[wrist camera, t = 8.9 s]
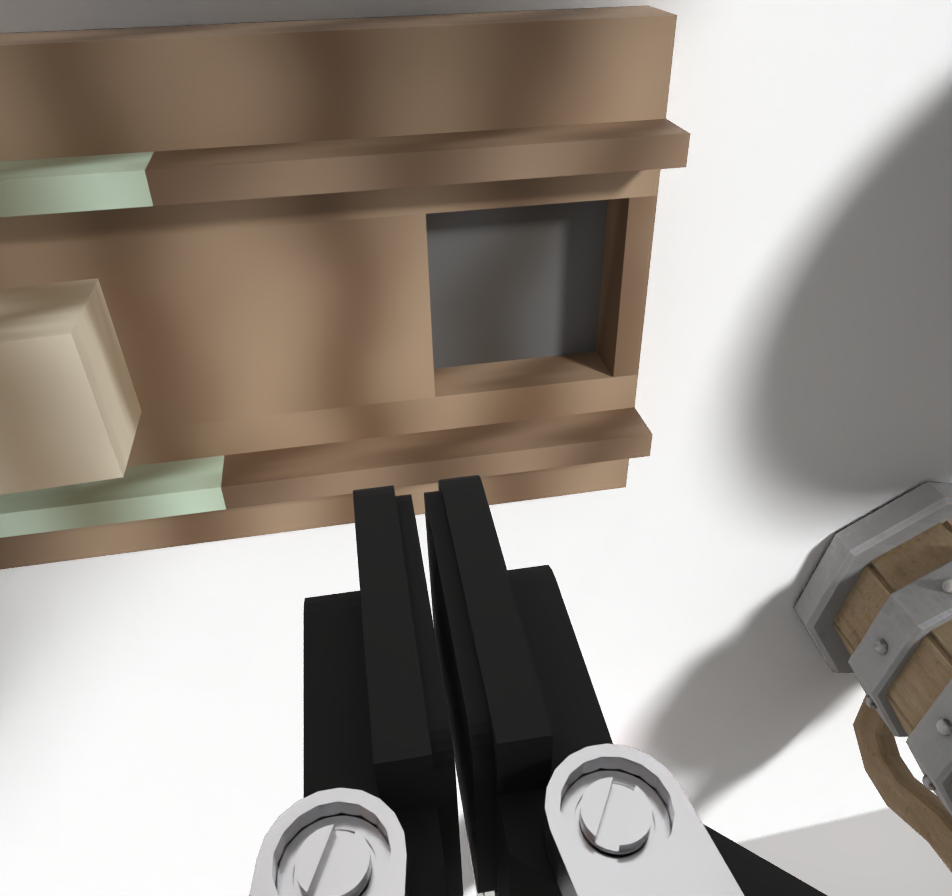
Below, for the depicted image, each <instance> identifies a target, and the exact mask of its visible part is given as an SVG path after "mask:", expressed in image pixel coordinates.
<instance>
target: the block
mask: <svg viewBox="0 0 952 896" xmlns="http://www.w3.org/2000/svg"><path fill="white" fill-rule="evenodd" d="M141 412H142V411H141V408H140V405H139V402H138V399H137V396H136V393H135V390H134V387H133V383H132V380H131V377H130V374H129V371H128V368H127V365H126V362H125V359H124V356H123V353H122V350H121V347H120V344H119V341H118V338H117V335H116V332H115V329H114V326H113V323H112V320H111V317H110V313H109V310H108V307H107V304H106V301H105V298H104V295H103V292H102V289H101V286H100V283H99V280H98V278H96V279H87V280H78V281H69V282H61V283H52V284H43V285H34V286H25V287H16V288H8V289H0V495H3V494H10V493H17V492H24V491H31V490H38V489H45V488H52V487H59V486H66V485H73V484H80V483H87V482H94V481H101V480H108V479H115V478H122V477H124V473H125V469H126V466H127V462H128V459H129V455H130V451H131V448H132V444H133V441H134V437H135V433H136V430H137V426H138V423H139V419H140V415H141Z"/></svg>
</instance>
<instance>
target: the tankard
mask: <svg viewBox="0 0 952 896" xmlns="http://www.w3.org/2000/svg"><path fill="white" fill-rule="evenodd" d="M794 609H795V611H796V612H797V614H798V616H799V617H800V619H801V621H802V622H803V624H804V626H805V628H806V629H807V631H808V633H809V634H810V636H811V638H812V639H813V641H814V643H815V645H816V646H817V648H818V650H819V651H820V653H821V655H822V656H823V658H824V659H825V661H826V662H827V663H828V665H829V666H830V668H831V669H832V671H833V672H839V673H855V675H856V677H857V679H858V680H859V682H860V684H861V686H862V688H863V689H864V691H865V693H866V696H865V698H864V700H863V703H862V705H861V707H860V710H859V712H858V714H857V716H856V719H855V721H854V723H853V726H854V730H855V734H856V738H857V741H858V745H859V749H860V753H861V756H862V760H863V764H864V768H865V771H866V772H867V774H868V776H869V777H870V779H871V780H872V782H873V784H874V785H875V787H876V788H877V790H878V792H879V793H880V795H881V797H882V798H883V800H884V801H885V803H886V805H887V806H888V807H889V808H890V809H892V810H893V811H894V812H895V813H896V814H897V815H898V816H899V817H901V818H902V819H903V820H904V821H905V822H906V823H908V824H909V825H910V826H911V827H912V828H913V829H914V830H915V831H916V832H918V833H919V834H920V835H921V836H922V837H923V838H924V839H925V840H927V841H928V842H929V844H930V845H931V846H932V848H933V849H934V850H935V851H936V853H937V854H938V855H939V857H940V858H941V859H942V861H943V862H944V863H945V864H946V866H947V867H948V868H949V870H950V871H951V872H952V484H949V483H936V482H926V483H923V484H922V485H920V486H918V487H916V488H915V489H913V490H911V491H909V492H908V493H906V494H904V495H902V496H901V497H899V498H897V499H895V500H894V501H892V502H890V503H888V504H887V505H885V506H883V507H881V508H880V509H878V510H876V511H874V512H873V513H871V514H869V515H867V516H866V517H864V518H862V519H860V520H859V521H857V522H855V523H853V524H852V525H850V526H848V527H846V528H844V529H843V530H841V531H839V532H837V533H836V534H835V536H834V538H833V539H832V541H831V543H830V545H829V546H828V548H827V550H826V552H825V554H824V555H823V557H822V559H821V561H820V562H819V564H818V566H817V568H816V570H815V571H814V573H813V575H812V577H811V578H810V580H809V582H808V584H807V585H806V587H805V589H804V591H803V593H802V594H801V596H800V598H799V600H798V601H797V603H796V605H795V607H794ZM894 736H898V737H907V736H909V737H908V738H907V741H906V743H907V744H908V746H909V748H910V750H911V752H912V754H913V756H914V757H915V759H916V761H917V763H918V765H919V767H920V769H921V770H922V772H923V774H924V776H923V780H922V781H923V784H924V785H923V784H922V783H920V782H919V781H918V780H917V779H915V778H914V777H913V775H912V774H911V772H910V770H909V769H908V767H907V766H906V764H905V763H904V761H903V760H902V758H901V757H900V754H899V751H898V748H897V744H896V741H895V738H894ZM929 789H930V790H934V792H935V793H936V795H937V796H936V795H935V794H934V793H933V792H931V791H930V790H929Z"/></svg>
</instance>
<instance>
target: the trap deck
mask: <svg viewBox="0 0 952 896" xmlns="http://www.w3.org/2000/svg"><path fill="white" fill-rule="evenodd" d="M676 19H677V15H675V14H672V13H669V12H666V11H663V10H660V9H656V8H653V7H650V6H628V7H604V8H581V9H558V10H535V11H511V12H488V13H465V14H441V15H418V16H395V17H371V18H348V19H325V20H302V21H278V22H255V23H232V24H208V25H185V26H162V27H138V28H115V29H92V30H69V31H45V32H22V33H0V289H8V288H16V287H25V286H34V285H43V284H52V283H61V282H69V281H78V280H87V279H96V278H98V280H99V283H100V286H101V289H102V292H103V295H104V298H105V301H106V304H107V307H108V310H109V313H110V317H111V320H112V323H113V326H114V329H115V332H116V335H117V338H118V341H119V344H120V347H121V350H122V353H123V356H124V359H125V362H126V365H127V368H128V371H129V374H130V377H131V380H132V383H133V387H134V390H135V393H136V396H137V399H138V402H139V405H140V408H141V411H142V412H141V415H140V419H139V423H138V426H137V430H136V433H135V437H134V441H133V444H132V448H131V451H130V455H129V459H128V462H127V466H126V469H125V473H124V477H122V478H115V479H108V480H101V481H94V482H87V483H80V484H73V485H66V486H59V487H52V488H45V489H38V490H31V491H24V492H17V493H10V494H3V495H0V569H6V568H14V567H22V566H29V565H37V564H44V563H52V562H60V561H67V560H75V559H82V558H90V557H98V556H105V555H113V554H120V553H128V552H136V551H143V550H151V549H158V548H166V547H174V546H181V545H189V544H196V543H204V542H212V541H219V540H227V539H235V538H242V537H250V536H257V535H265V534H273V533H280V532H288V531H295V530H303V529H311V528H318V527H326V526H333V525H341V524H349V523H355V515H354V502H353V490H359V489H367V488H375V487H383V486H392V485H394V490H395V496H400V495H408V494H411V495H412V501H413V507H414V513H415V515H417V514H425V504H424V492H433V491H438V481H439V480H441V479H449V478H457V477H465V476H474V475H479V476H480V478H481V480H482V484H483V487H484V491H485V494H486V498H487V501H488V505H493V504H501V503H508V502H516V501H524V500H531V499H539V498H546V497H554V496H562V495H569V494H577V493H584V492H592V491H600V490H607V489H615V488H622V487H626V480H627V471H628V461H629V458H637V457H644V456H650V449H651V441H652V433H651V432H650V430H649V429H648V427H647V426H646V424H645V423H644V421H643V420H642V418H641V417H640V415H639V414H638V412H637V411H636V409H635V408H634V406H635V397H636V388H637V379H638V369H639V360H640V351H641V342H642V332H643V323H644V314H645V305H646V296H647V286H648V277H649V268H650V259H651V249H652V240H653V231H654V222H655V213H656V203H657V194H658V185H659V176H660V169H666V168H680V167H686V163H687V155H688V147H689V139H690V133H688V132H687V131H685V130H683V129H682V128H680V127H678V126H677V125H675V124H673V123H672V122H670V121H669V120H667V119H666V111H667V102H668V93H669V84H670V74H671V65H672V56H673V47H674V38H675V28H676Z"/></svg>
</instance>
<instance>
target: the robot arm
mask: <svg viewBox="0 0 952 896" xmlns="http://www.w3.org/2000/svg"><path fill="white" fill-rule="evenodd" d="M353 502H354V515H355V528H356V541H357V554H358V567H359V580H360V591H354V592H347V593H339V594H332V595H325V596H317V597H310V598H305V601H304V798H303V799H301V800H299V801H297V802H296V803H294V804H293V805H292V806H291V807H290V808H288V809H287V810H286V811H285V812H284V813H283V814H281V815H280V816H279V817H278V818H277V820H276V821H275V823H274V824H273V825H272V827H271V828H270V830H269V831H268V833H267V834H266V835H265V837H264V840H263V843H262V845H261V848H260V851H259V854H258V857H257V860H256V865H255V870H254V875H253V880H252V885H251V890H250V895H249V896H463V884H462V868H461V852H460V837H459V821H458V805H457V789H456V774H455V764H456V770H457V776H458V782H459V788H460V794H461V800H462V806H463V812H464V818H465V824H466V830H467V836H468V842H469V848H470V854H471V860H472V866H473V872H474V878H475V884H476V889H477V893H478V894H479V893H485V892H490V891H494V893H495V896H827V895H825V894H823V893H822V892H820V891H818V890H817V889H815V888H813V887H811V886H810V885H808V884H806V883H804V882H803V881H801V880H799V879H798V878H796V877H794V876H792V875H791V874H789V873H787V872H785V871H784V870H782V869H780V868H778V867H777V866H775V865H773V864H772V863H770V862H768V861H766V860H765V859H763V858H761V857H759V856H757V855H756V854H754V853H752V852H751V851H749V850H747V849H746V848H744V847H742V846H740V845H739V844H737V843H735V842H733V841H732V840H730V839H728V838H726V837H725V836H723V835H721V834H720V833H718V832H716V831H714V830H713V829H711V828H709V827H707V826H706V825H704V824H703V823H702V821H701V820H700V818H699V816H698V815H697V813H696V811H695V809H694V808H693V806H692V804H691V802H690V801H689V799H688V797H687V796H686V794H685V792H684V790H683V789H682V787H681V785H680V784H679V783H678V781H677V780H676V779H675V777H674V776H673V775H672V774H671V772H670V771H669V770H668V769H667V767H665V766H664V765H663V764H661V763H660V762H659V761H657V760H656V759H655V758H653V757H652V756H651V755H649V754H647V753H644V752H642V751H639V750H637V749H634V748H632V747H630V746H624V745H616V744H613V743H612V740H611V737H610V734H609V731H608V728H607V726H606V723H605V720H604V717H603V714H602V711H601V708H600V705H599V702H598V700H597V697H596V694H595V691H594V688H593V685H592V682H591V679H590V676H589V674H588V671H587V668H586V665H585V662H584V659H583V656H582V653H581V651H580V648H579V645H578V642H577V639H576V636H575V633H574V630H573V627H572V625H571V622H570V619H569V616H568V613H567V610H566V607H565V604H564V601H563V599H562V596H561V593H560V590H559V587H558V584H557V581H556V578H555V576H554V574H553V571H552V569H551V568H550V567H549V565H544V566H536V567H529V568H522V569H514V570H507V569H506V565H505V561H504V558H503V554H502V551H501V547H500V544H499V540H498V537H497V533H496V530H495V526H494V523H493V519H492V516H491V512H490V508H489V505H488V501H487V498H486V494H485V491H484V487H483V484H482V480H481V478H480V476H479V475H474V476H465V477H457V478H449V479H441V480H439V481H438V491H433V492H424V504H425V517H426V530H427V543H428V556H429V570H430V583H431V596H432V609H433V620H432V614H431V608H430V602H429V596H428V590H427V584H426V578H425V572H424V566H423V560H422V554H421V548H420V543H419V537H418V531H417V525H416V519H415V513H414V507H413V501H412V495H411V494H408V495H400V496H395V490H394V485H392V486H383V487H375V488H367V489H359V490H353ZM433 622H434V626H433ZM454 758H455V760H454Z"/></svg>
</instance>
